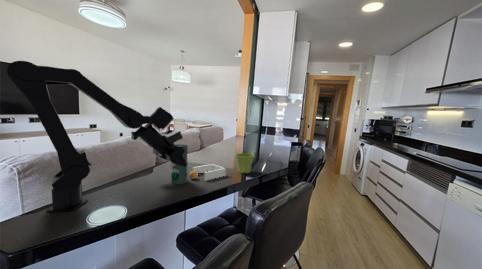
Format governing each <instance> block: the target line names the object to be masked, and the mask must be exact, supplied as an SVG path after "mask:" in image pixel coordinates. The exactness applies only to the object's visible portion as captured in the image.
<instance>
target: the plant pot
mask: <svg viewBox="0 0 482 269" xmlns="http://www.w3.org/2000/svg"><path fill="white" fill-rule="evenodd" d="M234 157H235V158H236V163H237V172H238V173H239V172H240V173H239V174H249V173H251V171H252V165H253V159H254V157H255V155H254V154H253V153H246V152H245V153H244V152H243V153H242V152H241V153H236V154H235V155H234Z"/></svg>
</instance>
